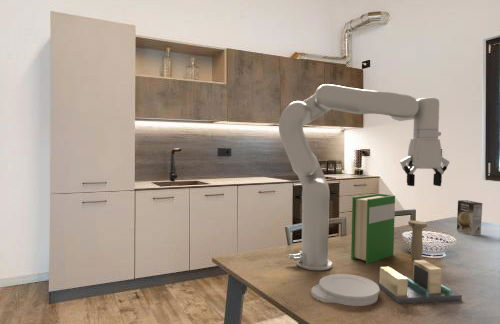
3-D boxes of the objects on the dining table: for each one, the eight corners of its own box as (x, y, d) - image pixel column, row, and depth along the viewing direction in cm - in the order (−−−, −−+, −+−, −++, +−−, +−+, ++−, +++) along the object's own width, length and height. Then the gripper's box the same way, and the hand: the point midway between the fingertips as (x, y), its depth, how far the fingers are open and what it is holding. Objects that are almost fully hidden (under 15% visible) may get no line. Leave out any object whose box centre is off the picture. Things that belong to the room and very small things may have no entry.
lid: (301, 286, 109) (301, 276, 109) (359, 281, 114) (359, 271, 114) (325, 311, 92) (325, 300, 92) (392, 304, 97) (392, 293, 97)
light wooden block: (411, 282, 108) (412, 260, 108) (423, 282, 109) (424, 260, 108) (428, 293, 100) (429, 269, 100) (440, 293, 101) (441, 269, 100)
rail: (399, 303, 97) (399, 280, 97) (377, 286, 109) (378, 265, 108) (461, 300, 99) (462, 277, 99) (434, 283, 111) (434, 263, 111)
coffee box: (455, 231, 182) (457, 200, 181) (465, 230, 184) (466, 199, 183) (471, 235, 173) (473, 203, 173) (481, 234, 175) (482, 202, 175)
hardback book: (367, 263, 130) (369, 199, 129) (351, 258, 136) (352, 197, 134) (393, 255, 141) (395, 195, 140) (376, 250, 146) (378, 193, 145)
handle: (420, 264, 129) (421, 224, 128) (404, 260, 135) (405, 221, 134) (428, 262, 131) (429, 223, 131) (412, 258, 137) (413, 220, 136)
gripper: (441, 135, 123) (440, 184, 124) (395, 135, 121) (394, 184, 122) (457, 135, 116) (455, 186, 116) (408, 134, 113) (406, 187, 114)
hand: (423, 185), depth 119 cm, fingers open, 9 cm apart
